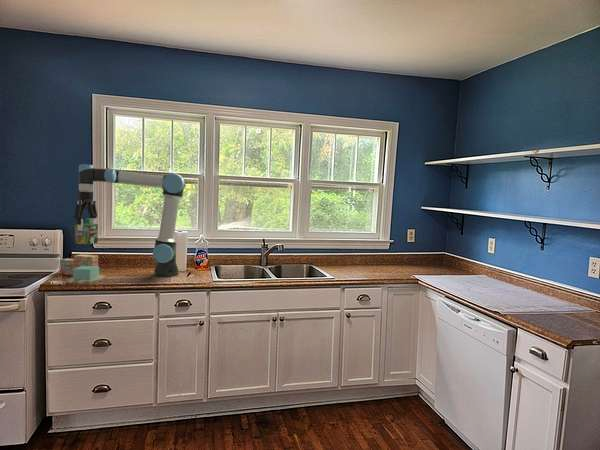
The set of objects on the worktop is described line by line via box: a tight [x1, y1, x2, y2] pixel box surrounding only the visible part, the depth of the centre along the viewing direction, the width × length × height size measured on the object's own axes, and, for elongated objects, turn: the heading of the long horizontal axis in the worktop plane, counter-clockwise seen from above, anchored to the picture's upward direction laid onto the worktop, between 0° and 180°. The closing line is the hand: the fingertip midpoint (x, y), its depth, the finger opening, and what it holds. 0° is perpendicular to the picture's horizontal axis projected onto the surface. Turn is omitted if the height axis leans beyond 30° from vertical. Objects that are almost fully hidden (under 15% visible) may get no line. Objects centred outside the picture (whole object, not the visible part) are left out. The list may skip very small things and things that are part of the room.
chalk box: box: [74, 217, 99, 245], centre depth 234 cm, size 9×9×15 cm
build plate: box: [63, 274, 108, 285], centre depth 235 cm, size 16×16×2 cm
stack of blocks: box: [59, 254, 99, 276], centre depth 251 cm, size 21×6×12 cm, turn 84°
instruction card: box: [44, 280, 68, 285], centre depth 227 cm, size 10×7×1 cm
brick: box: [72, 265, 100, 280], centre depth 235 cm, size 10×10×6 cm
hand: (86, 229), depth 234 cm, fingers closed on chalk box, 9 cm apart
